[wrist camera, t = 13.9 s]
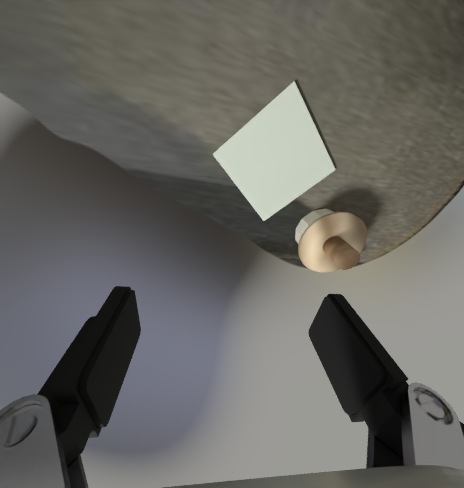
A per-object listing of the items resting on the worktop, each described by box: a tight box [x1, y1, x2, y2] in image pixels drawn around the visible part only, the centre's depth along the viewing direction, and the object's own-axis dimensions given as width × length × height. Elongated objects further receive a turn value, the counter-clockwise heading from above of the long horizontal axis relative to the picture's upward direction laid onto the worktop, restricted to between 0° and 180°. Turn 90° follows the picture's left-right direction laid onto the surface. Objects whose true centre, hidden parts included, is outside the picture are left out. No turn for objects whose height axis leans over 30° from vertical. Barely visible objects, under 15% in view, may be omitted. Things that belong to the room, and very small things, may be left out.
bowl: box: [295, 209, 334, 244], centre depth 41 cm, size 10×10×6 cm
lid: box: [298, 212, 367, 272], centre depth 36 cm, size 13×13×6 cm
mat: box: [213, 81, 335, 221], centre depth 35 cm, size 16×16×1 cm
